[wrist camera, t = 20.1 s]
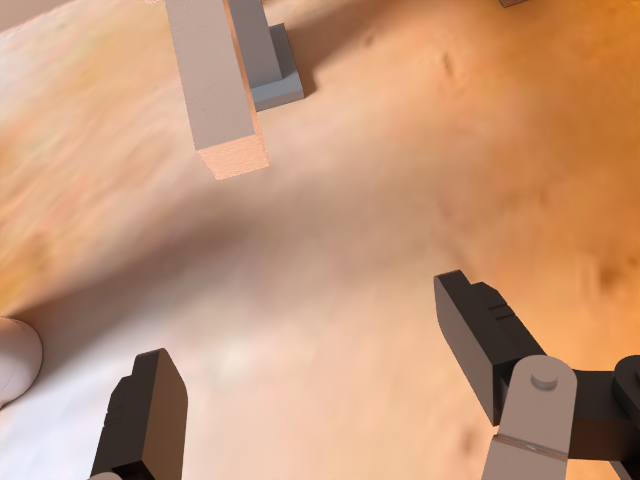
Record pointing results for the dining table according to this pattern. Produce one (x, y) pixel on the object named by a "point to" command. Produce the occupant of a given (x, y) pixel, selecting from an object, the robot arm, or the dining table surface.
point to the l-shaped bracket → (510, 2)
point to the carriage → (216, 87)
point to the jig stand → (265, 56)
